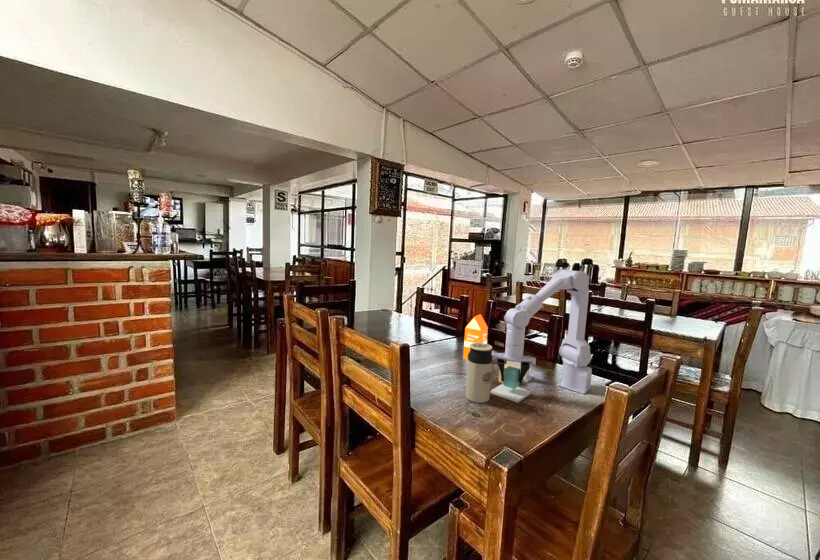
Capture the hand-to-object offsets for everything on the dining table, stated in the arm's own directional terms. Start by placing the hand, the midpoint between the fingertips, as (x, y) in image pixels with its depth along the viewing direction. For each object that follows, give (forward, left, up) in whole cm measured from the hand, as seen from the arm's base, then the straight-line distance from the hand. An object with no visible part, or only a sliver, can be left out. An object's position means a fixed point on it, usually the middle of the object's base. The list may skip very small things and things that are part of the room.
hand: (511, 381), depth 114 cm
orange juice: (+28, -21, -4) cm, 35 cm away
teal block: (0, 0, -1) cm, 1 cm away
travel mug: (+6, +12, -4) cm, 14 cm away
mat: (0, 0, -4) cm, 4 cm away
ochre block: (+6, -8, -4) cm, 11 cm away
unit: (+5, -16, -4) cm, 17 cm away
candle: (+15, -37, -4) cm, 40 cm away
